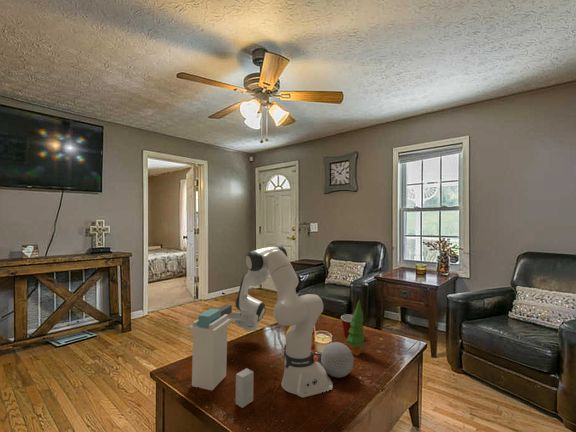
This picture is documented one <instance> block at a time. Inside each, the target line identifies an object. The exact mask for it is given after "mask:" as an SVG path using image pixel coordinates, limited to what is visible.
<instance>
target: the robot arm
mask: <svg viewBox="0 0 576 432" xmlns="http://www.w3.org/2000/svg"><path fill="white" fill-rule="evenodd" d="M245 266H246V267H247V272H246V273H244V274H243V276H242V278H241V281H240V285H239V291H238V294H237V297H236V299H235V307H236V310H238V311H232V312H231V313H230V314H228V319H231V322H232V321H233V322H234V324H235V326H237V327H238V328H240V329H242V330H244V331H246V332H254V331H256V330H257V329H258V328H259V325H260V321H261V320H262V319H263V318H264V315H265V313H266V304H265V302H263V301H261V300H259V299H257V298H255V297H253V296H251V295H249V293H248V292H249V288H250V286H252V287H258V286H261V285H263V284H264V283H265V282H266V281H267V280H268V275H270V277H271V279H272V282H273V284H274V287H275V290H276V293H277V295H276V296H277V300H276V303H275V305H274V307H273V318H274V320H275V321H276V323H278V325H280V326H283V327H284V326H285V327H286V326H287V327H288V326H289V327H290V326H292V327H291V329H290V330H289V331H288V333H287V336H286V335H285V344H286V345H285V351H284V358H283V359H284V360H283V362H284V370H283V371H284V372H283V377H282V380H281V384H280V385H281V387H282V389H283V390H284V391H286V392H288V393H290V394H293V395H297V397H299V398H306V397H312V396H314V395H318V394H322V392H323V393H326V391H327V392H330V391H329V390H331V391H332V390H333V388H334V387H333V386H334V385H333V381H332V380H331V378H330V377H329V376H328V373H327V372H326V371H325V369H324V367H323V366H322V363H320V362H318V361H319V356H317V355H316V354H315V352H313V351H312V340H313V339H312V338H313V335H312V333H314V329H315V325H316V323H317V321H318V320H319V317H320V315H322V314H323V311H324V302H323V300H322V298H321V297H320V296H319V295H317V294H315V293H314V294H311V293H309V294H308V293H306V294H302V295H298V294H297V291H296V288H297V287H298V285H299V281H300V280H299V277H298V275H297V273H296V271H295V269H294V267H293V265H292V263H291V261H290V259H289V257H288V252H287V250H286V248H285V247H284V246H281V245H274V246H268V247H262V248H257V249H256V250H251V251H248V252H247V253H246V255H245Z"/></svg>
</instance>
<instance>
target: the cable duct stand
mask: <svg viewBox="0 0 576 432" xmlns="http://www.w3.org/2000/svg"><path fill="white" fill-rule="evenodd" d="M231 322H232V321H231V319H228V315H227V314H225V315H223V316H222V317H220V318H219V319H217V320H215V321H214V322H212V323H211V324H209V328H202V327H198V318H197V319H196V320H194V321H193V322H192V325H189V332H191V333H192V360H191V361H192V362H191V363H192V365H191V366H192V369H191V387H195V388H198V387H199V389H203V390H207V391H213V390H214V389H215V388H216V387H217V386H218V385H219V384H220V383H221V382H222V381H223V380H224V379H225V378H226V377H227V363H228V362H227V356H228V326H229V325H231Z"/></svg>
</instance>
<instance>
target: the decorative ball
mask: <svg viewBox="0 0 576 432" xmlns="http://www.w3.org/2000/svg"><path fill="white" fill-rule="evenodd" d="M320 362H321V365H322V366H323V367H324V369H325V371H326V373H327V375H330V376H331V377H333V378H337V379H339V378H344V377H346V376H348V374H350V373H351V371H352V370H353V367H354V355H353V354H352V353H351V349H350V348H349V346H347V345H346V344H345V343H342V342H338V341H334V342H329V344H327V345H326V346H324V349H323V350H322V351H321V355H320Z"/></svg>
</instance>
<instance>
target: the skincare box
mask: <svg viewBox="0 0 576 432" xmlns="http://www.w3.org/2000/svg"><path fill="white" fill-rule="evenodd" d="M254 375H255V374H254V371H253V370H251V369H249V368H247V367H246V368H245V369H242V370H240V371H239V372H237V373H235V405H237V406H238V407H240V408H242V409H243V408H245V407H246V406H247V405H249V404H250V403H252V402H254V380H255V379H254Z"/></svg>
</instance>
